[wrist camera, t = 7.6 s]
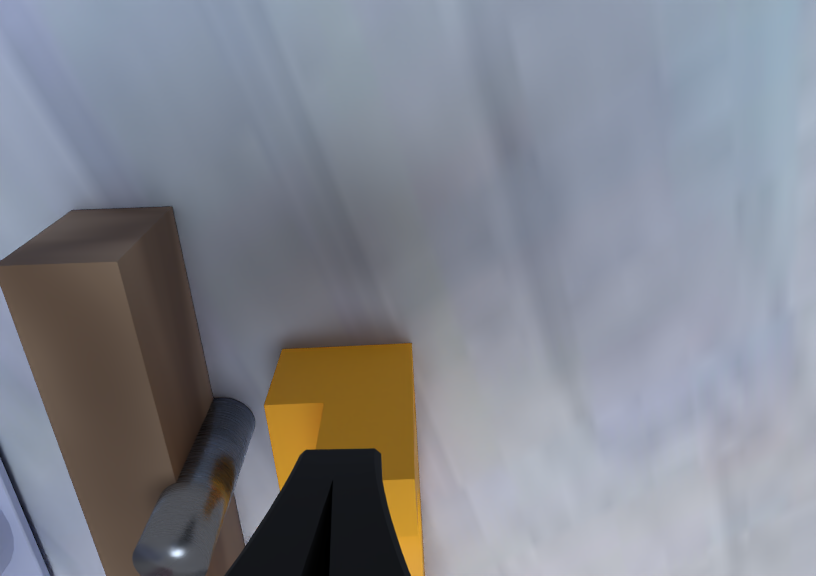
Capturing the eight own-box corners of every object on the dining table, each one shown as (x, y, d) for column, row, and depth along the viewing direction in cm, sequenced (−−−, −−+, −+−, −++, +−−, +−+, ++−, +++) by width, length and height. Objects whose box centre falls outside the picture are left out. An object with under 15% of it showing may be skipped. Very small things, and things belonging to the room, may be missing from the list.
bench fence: (212, 695, 29) (170, 856, 24) (71, 210, 19) (-62, 305, 13) (304, 693, 29) (282, 854, 24) (215, 205, 19) (139, 298, 13)
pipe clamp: (282, 346, 21) (237, 486, 15) (411, 340, 21) (414, 479, 15) (322, 588, 26) (299, 759, 21) (425, 584, 26) (431, 755, 21)
